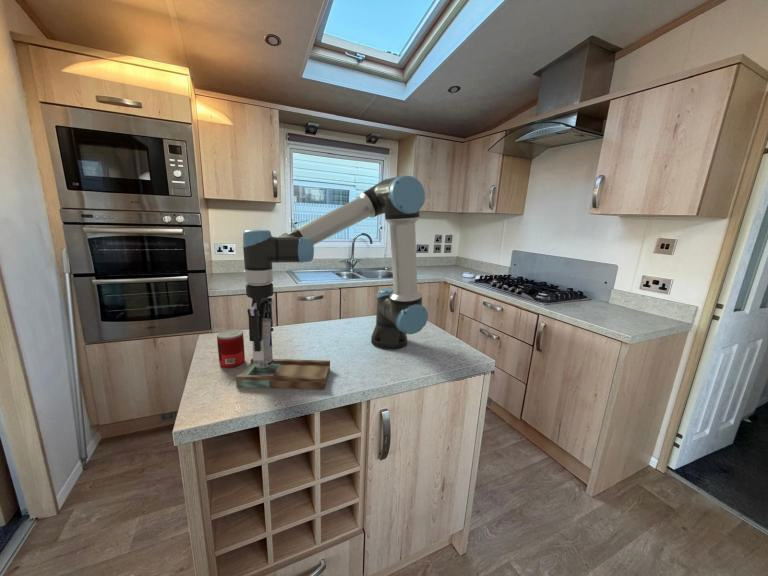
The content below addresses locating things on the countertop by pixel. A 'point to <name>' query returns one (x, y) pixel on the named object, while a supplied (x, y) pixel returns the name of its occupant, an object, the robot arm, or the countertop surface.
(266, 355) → the beverage can
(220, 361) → the canned food
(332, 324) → the countertop surface
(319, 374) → the rail board
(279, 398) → the countertop surface
